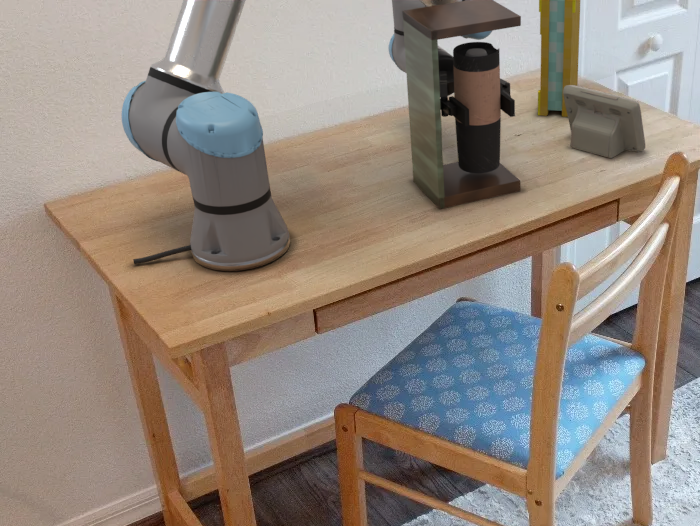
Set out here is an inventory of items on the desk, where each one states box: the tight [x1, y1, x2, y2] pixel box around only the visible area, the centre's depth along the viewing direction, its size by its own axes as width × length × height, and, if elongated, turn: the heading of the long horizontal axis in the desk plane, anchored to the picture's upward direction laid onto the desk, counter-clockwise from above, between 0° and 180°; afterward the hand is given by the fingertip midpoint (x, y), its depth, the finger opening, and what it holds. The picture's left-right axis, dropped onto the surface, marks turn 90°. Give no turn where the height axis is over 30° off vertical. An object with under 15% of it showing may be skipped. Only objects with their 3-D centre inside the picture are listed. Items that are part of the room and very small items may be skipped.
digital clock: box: [563, 85, 646, 159], centre depth 183 cm, size 16×9×11 cm, turn 39°
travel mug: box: [452, 41, 502, 173], centre depth 167 cm, size 8×8×20 cm
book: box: [537, 0, 581, 118], centre depth 198 cm, size 17×7×25 cm, turn 168°
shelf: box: [403, 0, 522, 210], centre depth 165 cm, size 15×12×30 cm
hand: (490, 113), depth 163 cm, fingers closed on travel mug, 7 cm apart
